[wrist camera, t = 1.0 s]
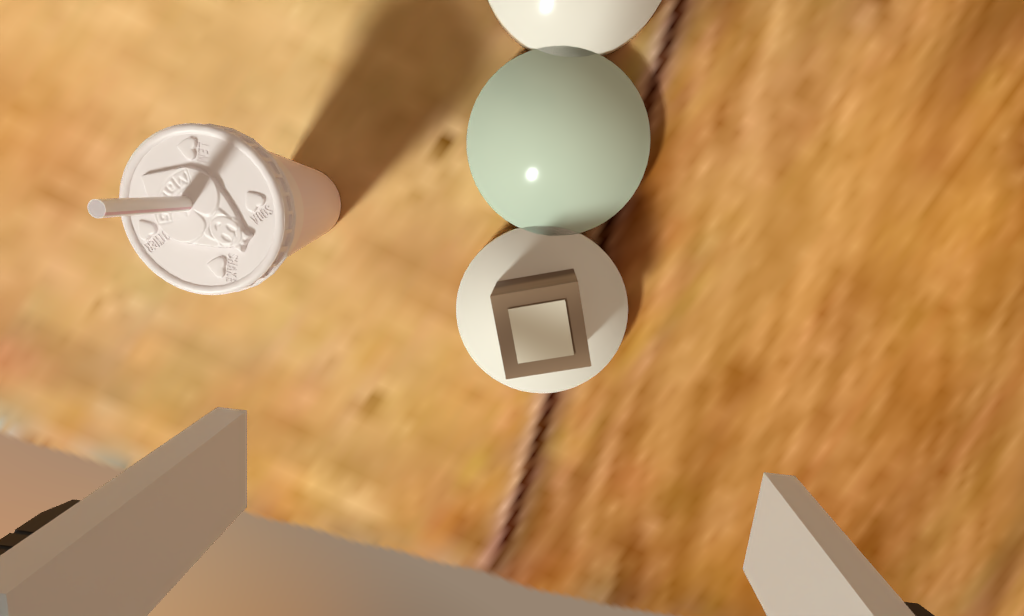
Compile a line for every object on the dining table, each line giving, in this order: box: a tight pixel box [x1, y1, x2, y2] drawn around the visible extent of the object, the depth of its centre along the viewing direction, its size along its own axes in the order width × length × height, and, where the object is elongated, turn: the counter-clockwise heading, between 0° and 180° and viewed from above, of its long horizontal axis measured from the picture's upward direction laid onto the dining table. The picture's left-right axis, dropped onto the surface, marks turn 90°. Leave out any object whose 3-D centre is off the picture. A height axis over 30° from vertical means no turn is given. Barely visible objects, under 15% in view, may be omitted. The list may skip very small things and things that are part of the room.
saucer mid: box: [467, 46, 650, 236], centre depth 28 cm, size 9×9×1 cm
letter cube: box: [490, 269, 591, 379], centre depth 28 cm, size 4×4×4 cm
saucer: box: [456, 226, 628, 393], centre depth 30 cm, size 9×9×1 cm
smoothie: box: [88, 123, 341, 295], centre depth 23 cm, size 6×6×14 cm
